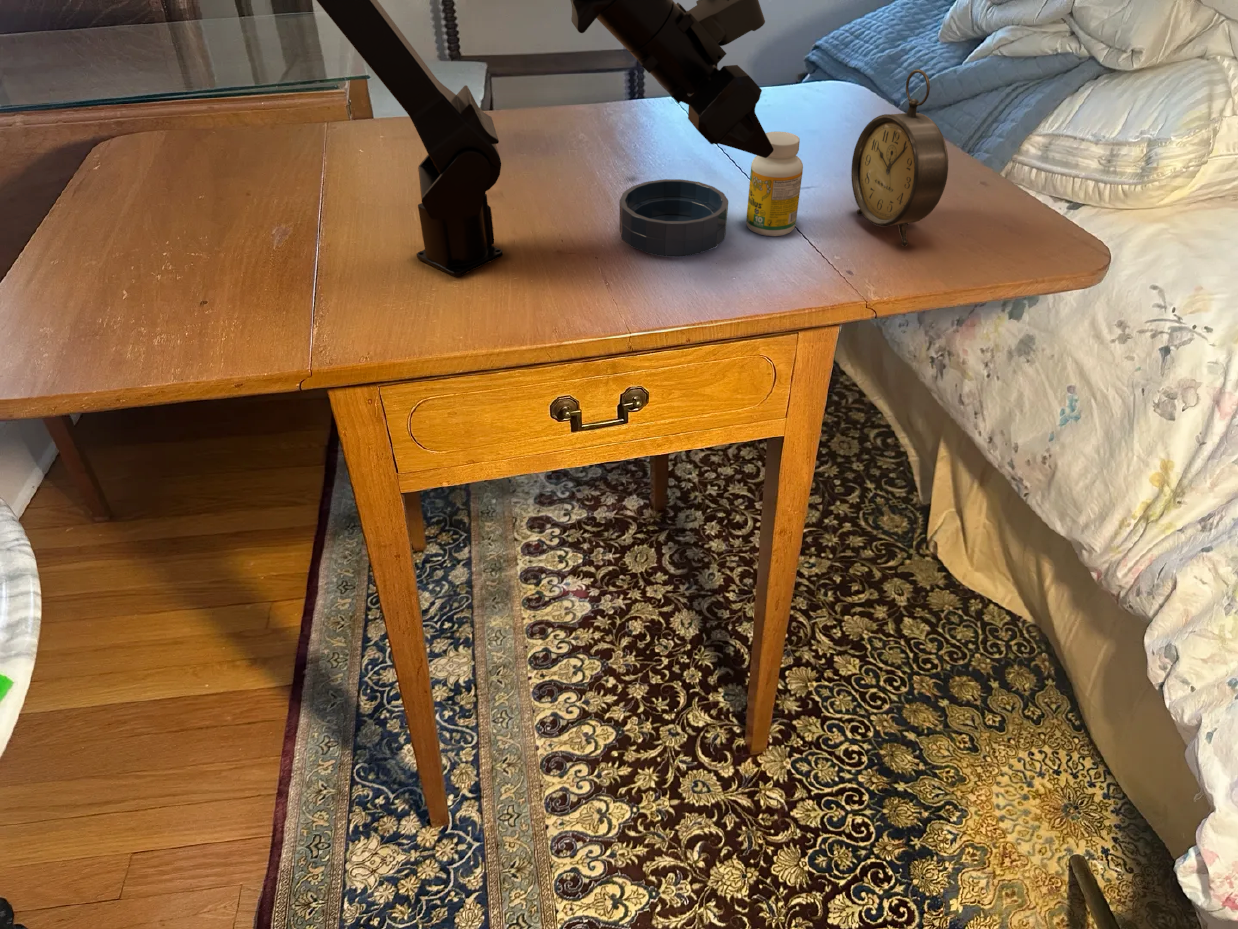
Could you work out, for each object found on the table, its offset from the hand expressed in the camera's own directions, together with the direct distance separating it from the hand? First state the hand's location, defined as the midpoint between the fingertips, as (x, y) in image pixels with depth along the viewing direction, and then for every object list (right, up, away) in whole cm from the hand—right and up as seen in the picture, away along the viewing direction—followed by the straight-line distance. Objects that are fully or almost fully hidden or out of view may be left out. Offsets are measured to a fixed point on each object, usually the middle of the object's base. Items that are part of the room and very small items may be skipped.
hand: (754, 137), depth 87 cm
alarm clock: (+16, -8, +6) cm, 19 cm away
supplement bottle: (+3, -7, +7) cm, 10 cm away
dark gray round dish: (-8, -9, +5) cm, 13 cm away
